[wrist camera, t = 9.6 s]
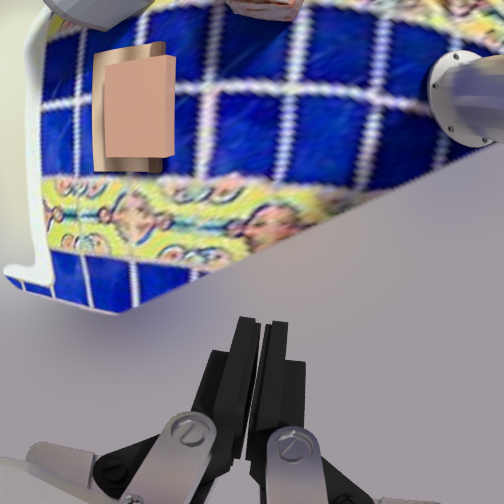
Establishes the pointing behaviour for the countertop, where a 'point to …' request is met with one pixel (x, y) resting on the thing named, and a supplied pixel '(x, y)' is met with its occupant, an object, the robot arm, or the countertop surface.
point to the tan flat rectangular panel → (98, 110)
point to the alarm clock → (96, 11)
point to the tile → (140, 107)
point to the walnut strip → (156, 162)
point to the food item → (267, 8)
